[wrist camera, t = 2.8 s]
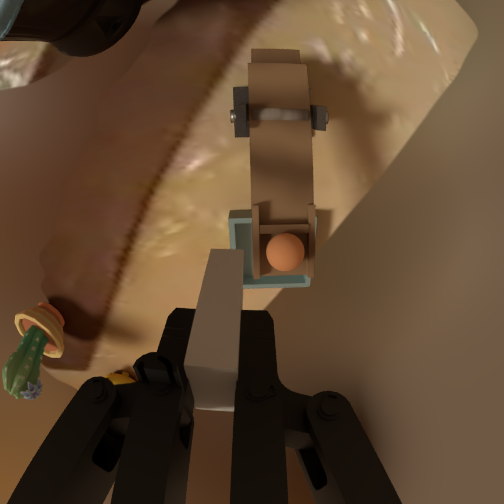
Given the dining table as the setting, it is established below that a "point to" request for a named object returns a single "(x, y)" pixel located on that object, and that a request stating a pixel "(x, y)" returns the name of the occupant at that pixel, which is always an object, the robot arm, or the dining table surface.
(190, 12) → the dining table surface
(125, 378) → the teapot
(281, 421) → the robot arm
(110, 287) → the dining table surface
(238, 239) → the dish
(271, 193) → the lever
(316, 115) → the stand
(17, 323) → the potted cactus
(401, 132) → the dining table surface
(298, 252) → the ball
